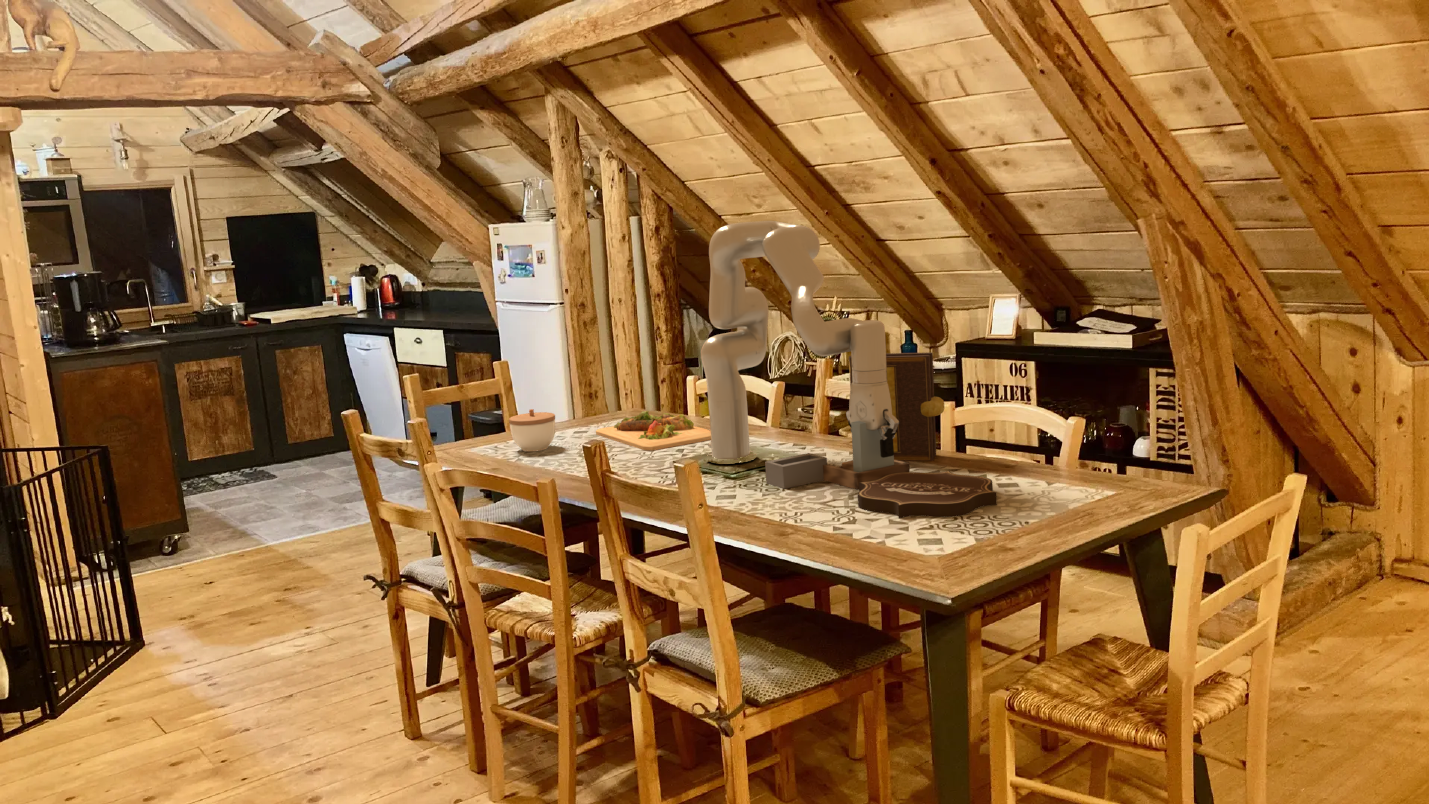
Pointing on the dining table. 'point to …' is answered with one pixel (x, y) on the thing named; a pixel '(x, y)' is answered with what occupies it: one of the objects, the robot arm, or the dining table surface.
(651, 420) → the cutting board
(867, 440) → the panel
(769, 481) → the holder
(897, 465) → the square wooden tray
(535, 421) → the lidded bowl
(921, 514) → the decorative plaque
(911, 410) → the book
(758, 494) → the dining table surface
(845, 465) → the offcut top
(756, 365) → the robot arm
